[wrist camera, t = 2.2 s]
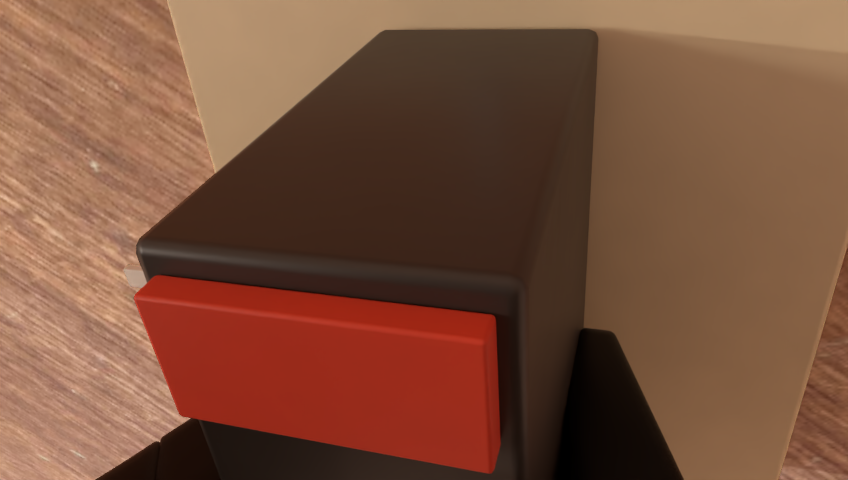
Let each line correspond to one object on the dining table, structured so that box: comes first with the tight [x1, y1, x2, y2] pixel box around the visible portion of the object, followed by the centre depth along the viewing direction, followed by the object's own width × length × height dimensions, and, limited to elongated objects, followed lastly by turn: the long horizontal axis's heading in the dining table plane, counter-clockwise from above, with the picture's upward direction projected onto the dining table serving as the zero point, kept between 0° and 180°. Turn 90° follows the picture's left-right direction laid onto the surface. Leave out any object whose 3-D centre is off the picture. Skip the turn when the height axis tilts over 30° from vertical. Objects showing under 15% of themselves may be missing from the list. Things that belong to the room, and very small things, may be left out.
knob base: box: [123, 0, 848, 480], centre depth 11 cm, size 12×12×3 cm
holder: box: [134, 29, 598, 480], centre depth 8 cm, size 8×2×5 cm, turn 5°
